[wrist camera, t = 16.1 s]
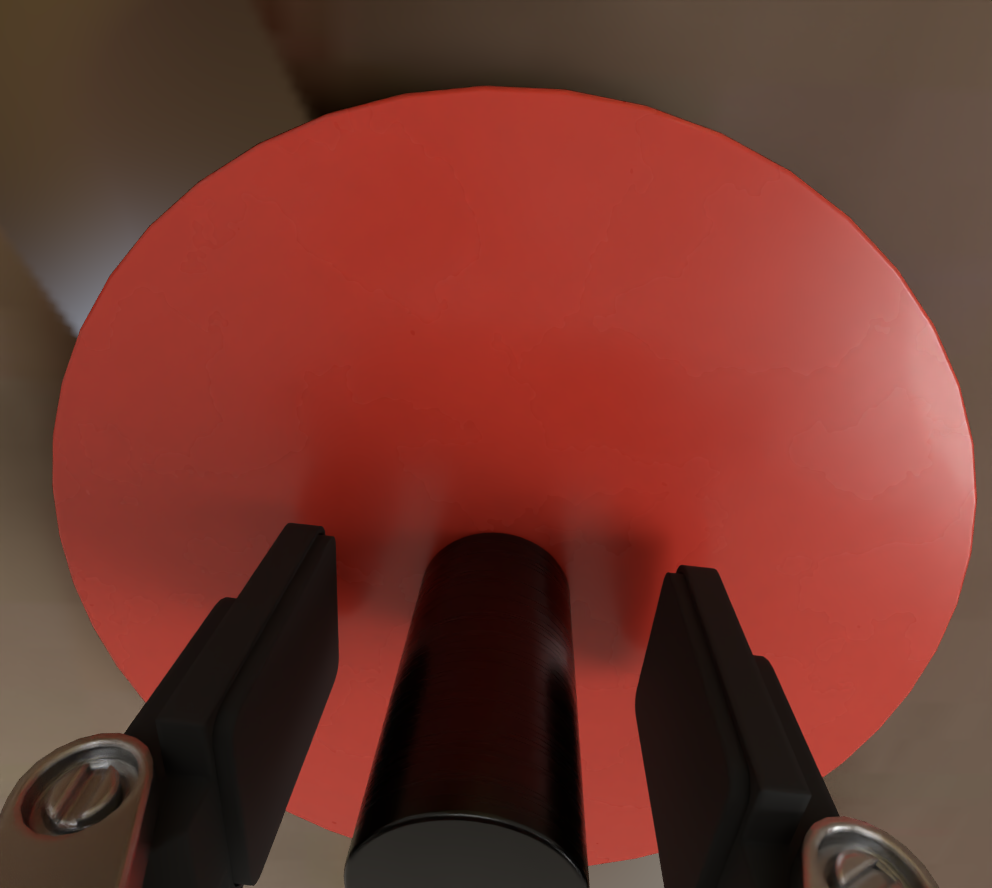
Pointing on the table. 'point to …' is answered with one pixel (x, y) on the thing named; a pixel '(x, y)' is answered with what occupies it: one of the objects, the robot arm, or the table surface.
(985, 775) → the table surface
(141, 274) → the lid
